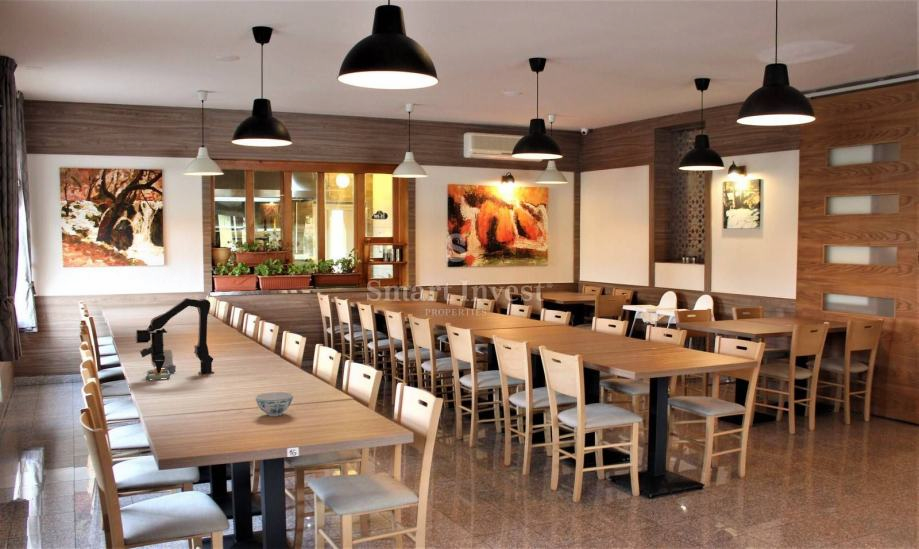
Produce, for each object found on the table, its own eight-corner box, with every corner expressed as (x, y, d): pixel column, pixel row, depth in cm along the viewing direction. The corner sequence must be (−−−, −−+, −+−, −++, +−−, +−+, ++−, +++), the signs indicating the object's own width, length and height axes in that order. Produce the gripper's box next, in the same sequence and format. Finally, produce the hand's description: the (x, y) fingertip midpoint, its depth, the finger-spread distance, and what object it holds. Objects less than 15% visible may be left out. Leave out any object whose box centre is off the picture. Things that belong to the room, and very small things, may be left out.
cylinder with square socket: (177, 372, 421) (177, 365, 421) (167, 374, 418) (167, 366, 417) (173, 371, 425) (172, 364, 425) (163, 372, 421) (163, 365, 421)
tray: (169, 379, 403) (169, 374, 403) (147, 380, 399) (147, 375, 399) (168, 374, 416) (168, 370, 416) (147, 376, 412) (146, 371, 412)
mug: (175, 368, 435) (174, 347, 435) (152, 370, 429) (151, 348, 429) (172, 366, 442) (171, 345, 441) (150, 368, 436) (149, 347, 435)
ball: (163, 375, 407) (163, 367, 407) (156, 376, 405) (155, 368, 405) (160, 374, 410) (160, 366, 410) (152, 375, 408) (152, 367, 407)
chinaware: (296, 410, 328) (296, 391, 328) (289, 418, 313) (289, 399, 313) (260, 410, 328) (259, 392, 327) (251, 418, 313) (251, 399, 312)
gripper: (140, 340, 412) (141, 370, 413) (141, 345, 395) (141, 375, 396) (163, 339, 417) (163, 368, 417) (164, 343, 399) (165, 374, 400)
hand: (158, 371), depth 407 cm, fingers open, 9 cm apart
